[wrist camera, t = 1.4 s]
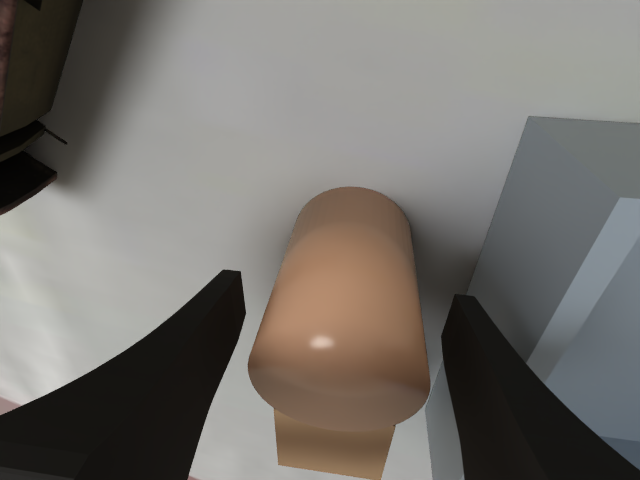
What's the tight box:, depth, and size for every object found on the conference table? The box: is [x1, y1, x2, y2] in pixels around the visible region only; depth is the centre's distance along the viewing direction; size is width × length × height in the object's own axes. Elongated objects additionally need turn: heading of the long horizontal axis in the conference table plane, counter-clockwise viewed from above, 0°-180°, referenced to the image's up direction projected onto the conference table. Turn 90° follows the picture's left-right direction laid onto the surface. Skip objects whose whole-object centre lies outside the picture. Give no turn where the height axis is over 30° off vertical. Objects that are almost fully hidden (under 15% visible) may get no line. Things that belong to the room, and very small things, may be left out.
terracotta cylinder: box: [248, 187, 430, 432], centre depth 13 cm, size 5×5×7 cm
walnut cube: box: [274, 408, 395, 480], centre depth 18 cm, size 5×5×5 cm
